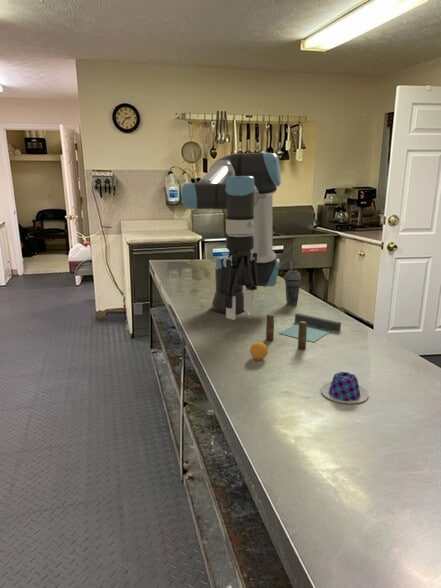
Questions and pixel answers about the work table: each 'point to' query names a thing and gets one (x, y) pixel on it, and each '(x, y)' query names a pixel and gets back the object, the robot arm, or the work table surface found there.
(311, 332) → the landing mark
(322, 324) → the stopper wall
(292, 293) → the beverage cup
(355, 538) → the work table surface
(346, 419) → the work table surface
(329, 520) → the work table surface
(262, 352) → the ball
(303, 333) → the right post
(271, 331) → the left post
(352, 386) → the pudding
